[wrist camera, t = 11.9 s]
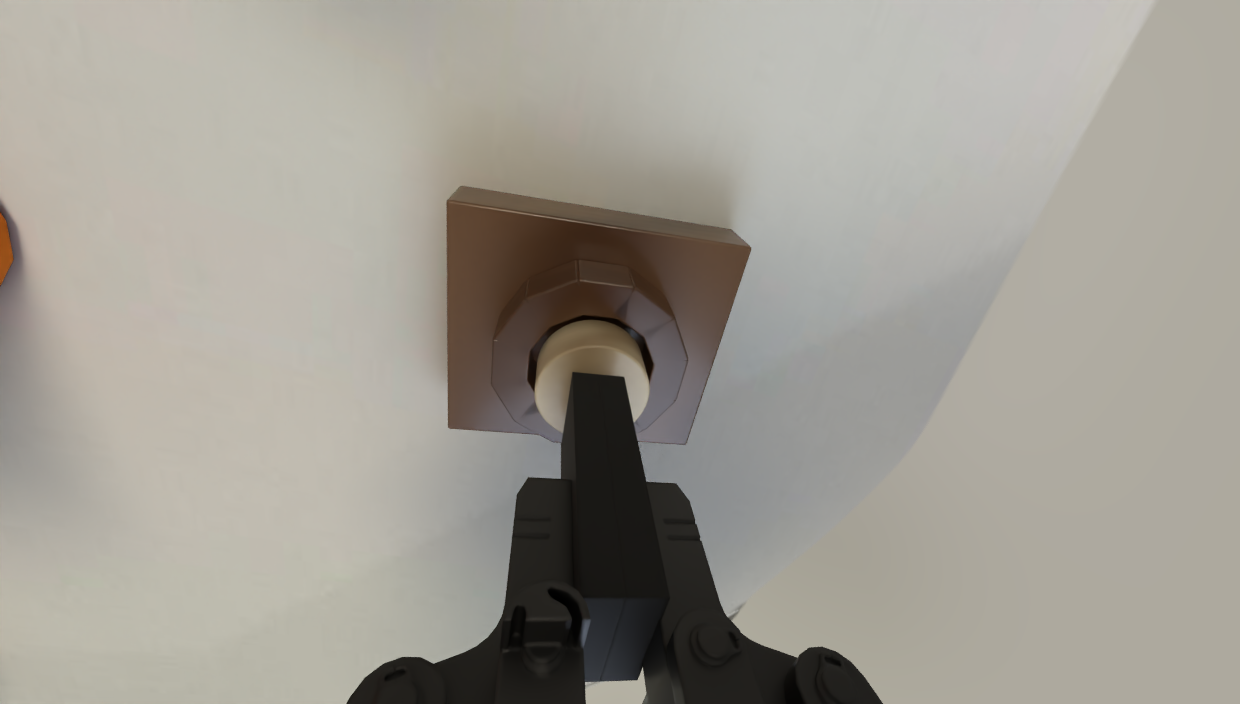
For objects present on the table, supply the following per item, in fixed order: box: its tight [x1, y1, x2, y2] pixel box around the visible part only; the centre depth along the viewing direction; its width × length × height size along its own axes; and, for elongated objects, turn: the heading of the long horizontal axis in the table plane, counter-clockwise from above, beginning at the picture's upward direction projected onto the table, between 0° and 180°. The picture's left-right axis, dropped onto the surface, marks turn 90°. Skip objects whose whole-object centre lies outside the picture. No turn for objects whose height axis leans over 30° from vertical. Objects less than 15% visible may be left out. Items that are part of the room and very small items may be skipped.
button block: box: [447, 186, 751, 445], centre depth 17 cm, size 10×9×4 cm
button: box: [534, 320, 650, 433], centre depth 15 cm, size 4×4×2 cm
